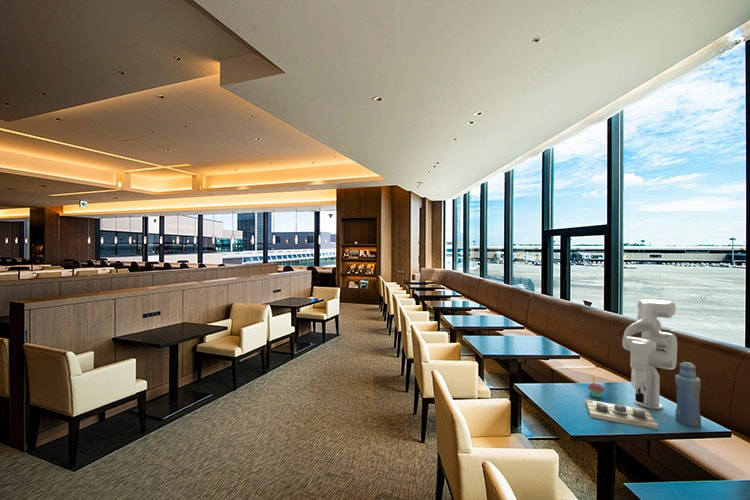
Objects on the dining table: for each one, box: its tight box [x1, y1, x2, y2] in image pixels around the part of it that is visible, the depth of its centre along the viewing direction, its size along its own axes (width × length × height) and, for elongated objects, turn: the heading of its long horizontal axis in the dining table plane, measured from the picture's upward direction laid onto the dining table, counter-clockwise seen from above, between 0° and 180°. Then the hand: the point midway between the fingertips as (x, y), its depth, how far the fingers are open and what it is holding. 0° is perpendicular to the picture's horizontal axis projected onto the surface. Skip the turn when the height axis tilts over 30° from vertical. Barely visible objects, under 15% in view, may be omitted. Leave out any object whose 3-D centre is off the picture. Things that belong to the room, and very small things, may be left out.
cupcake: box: [587, 374, 606, 398], centre depth 213 cm, size 9×8×12 cm
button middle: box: [614, 404, 626, 412], centre depth 184 cm, size 5×5×2 cm
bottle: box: [674, 361, 702, 428], centre depth 180 cm, size 10×10×30 cm
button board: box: [585, 399, 659, 430], centre depth 187 cm, size 20×28×2 cm
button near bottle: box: [633, 410, 645, 418], centre depth 181 cm, size 5×5×2 cm
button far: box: [596, 404, 608, 411], centre depth 187 cm, size 5×5×2 cm
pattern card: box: [592, 400, 642, 411], centre depth 192 cm, size 5×22×1 cm, turn 65°
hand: (639, 401), depth 182 cm, fingers closed
